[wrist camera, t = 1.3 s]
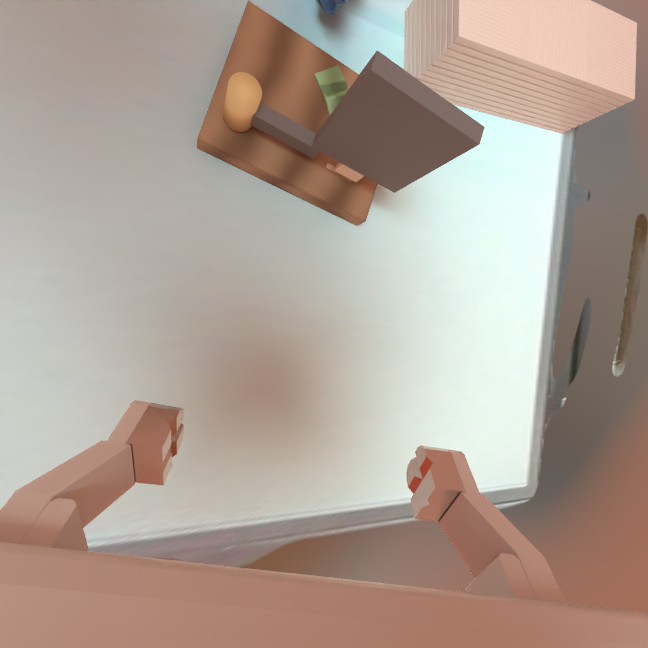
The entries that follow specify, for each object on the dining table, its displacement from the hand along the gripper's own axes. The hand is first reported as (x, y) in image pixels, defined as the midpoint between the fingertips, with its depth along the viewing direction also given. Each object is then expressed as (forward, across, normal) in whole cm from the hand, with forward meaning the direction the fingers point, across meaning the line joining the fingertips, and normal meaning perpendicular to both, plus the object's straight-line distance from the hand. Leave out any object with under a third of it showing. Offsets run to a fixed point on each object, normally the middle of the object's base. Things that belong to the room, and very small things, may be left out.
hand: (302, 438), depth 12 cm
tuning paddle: (+37, +2, -4) cm, 37 cm away
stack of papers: (+59, -23, -18) cm, 65 cm away
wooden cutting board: (+42, +3, -6) cm, 42 cm away
